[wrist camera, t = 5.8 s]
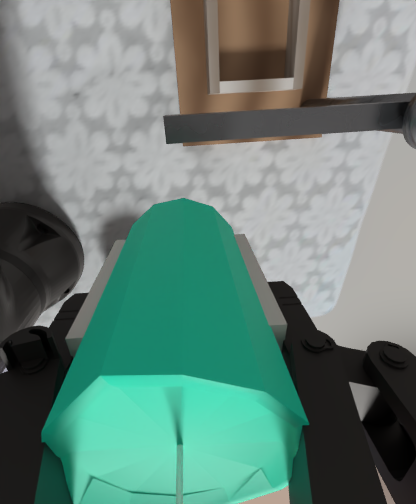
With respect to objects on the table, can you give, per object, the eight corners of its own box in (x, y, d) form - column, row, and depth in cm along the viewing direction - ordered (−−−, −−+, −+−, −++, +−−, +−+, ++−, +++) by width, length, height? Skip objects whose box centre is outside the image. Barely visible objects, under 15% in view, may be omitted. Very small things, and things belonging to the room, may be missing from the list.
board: (182, 145, 34) (183, 149, 30) (168, -19, 27) (167, -38, 23) (317, 136, 35) (333, 139, 31) (336, -24, 28) (360, -44, 24)
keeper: (173, 138, 32) (167, 171, 16) (169, 98, 30) (158, 89, 14) (323, 128, 33) (467, 149, 17) (328, 90, 31) (496, 71, 15)
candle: (242, 200, 14) (411, 470, 4) (230, 295, 17) (308, 607, 6) (122, 195, 14) (-92, 501, 3) (130, 294, 16) (33, 636, 6)
